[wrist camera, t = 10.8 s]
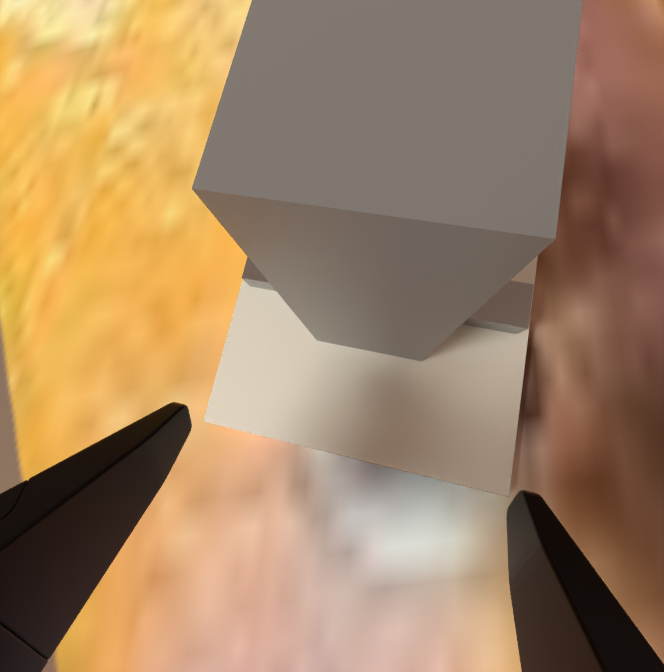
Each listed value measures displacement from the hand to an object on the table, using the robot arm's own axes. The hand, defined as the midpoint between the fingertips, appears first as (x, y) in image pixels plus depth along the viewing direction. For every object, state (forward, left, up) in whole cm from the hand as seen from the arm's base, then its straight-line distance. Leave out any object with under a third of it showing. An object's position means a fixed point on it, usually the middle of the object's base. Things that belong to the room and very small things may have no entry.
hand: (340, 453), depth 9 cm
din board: (+7, +2, -7) cm, 10 cm away
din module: (+7, +2, -7) cm, 10 cm away
